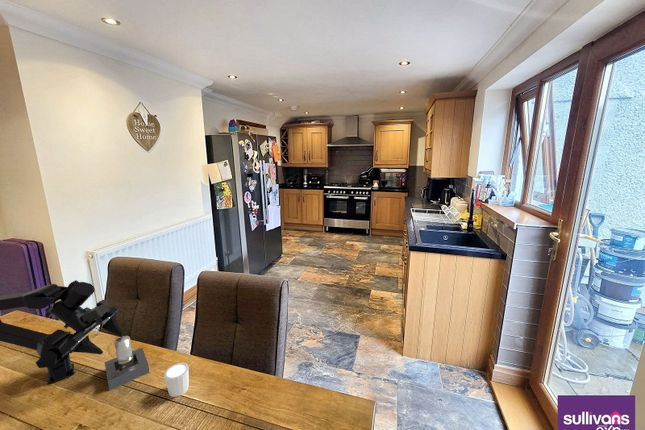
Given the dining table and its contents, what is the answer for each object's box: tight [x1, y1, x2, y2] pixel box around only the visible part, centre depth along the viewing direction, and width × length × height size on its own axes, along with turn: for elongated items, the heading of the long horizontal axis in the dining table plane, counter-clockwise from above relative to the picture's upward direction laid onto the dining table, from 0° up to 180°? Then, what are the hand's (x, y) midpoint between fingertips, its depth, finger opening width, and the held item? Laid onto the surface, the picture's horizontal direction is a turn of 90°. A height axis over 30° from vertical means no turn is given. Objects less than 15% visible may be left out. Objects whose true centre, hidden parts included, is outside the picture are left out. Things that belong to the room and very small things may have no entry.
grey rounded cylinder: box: [114, 335, 135, 372], centre depth 92 cm, size 4×4×12 cm
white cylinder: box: [163, 362, 190, 398], centre depth 86 cm, size 7×7×7 cm
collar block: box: [104, 347, 150, 391], centre depth 93 cm, size 11×11×4 cm
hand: (112, 343), depth 91 cm, fingers open, 9 cm apart
